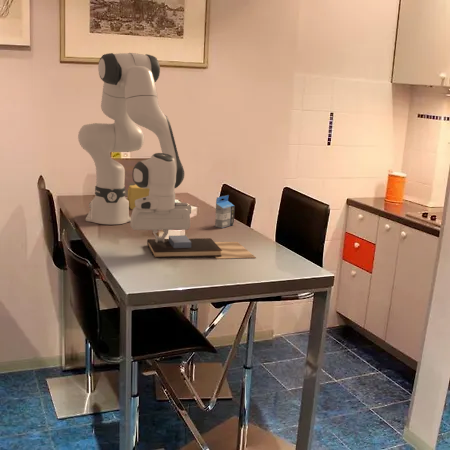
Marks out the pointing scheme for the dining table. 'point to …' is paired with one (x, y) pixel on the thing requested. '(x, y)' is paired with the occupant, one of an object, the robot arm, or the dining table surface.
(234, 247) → the mat
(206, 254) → the hardcover book
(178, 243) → the blue-grey flat block
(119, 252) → the dining table surface
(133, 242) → the dining table surface
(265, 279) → the dining table surface
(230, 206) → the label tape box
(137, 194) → the cheese
